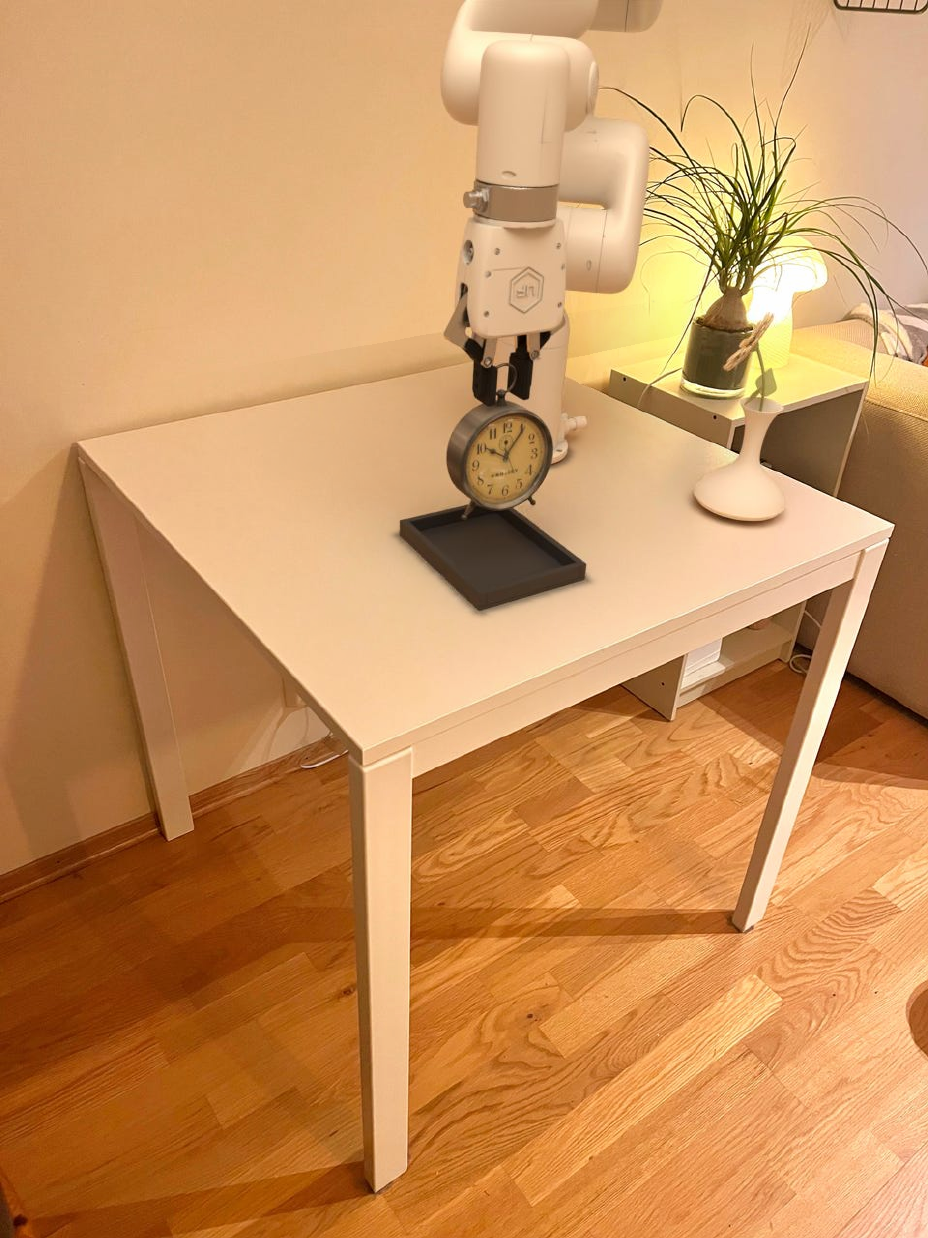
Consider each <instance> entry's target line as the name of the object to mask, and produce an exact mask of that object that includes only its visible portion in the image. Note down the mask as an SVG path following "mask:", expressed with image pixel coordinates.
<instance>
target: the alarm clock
mask: <svg viewBox="0 0 928 1238" xmlns="http://www.w3.org/2000/svg"><path fill="white" fill-rule="evenodd" d="M502 366H508V367H510V368H511V369H512V370H513V372H514V380H513V383H512V385H511V386H510V388H509V389H507V390H506V391H505V390H503V389H500V390H498V391H497V392H496V395H497V397H498V398H497V400H496V402H495V404H494V406H490V407H488V406H486V405H485V404H483V403H480V404H478V405H477V406H475V407H473V408H472V409H470V410H469V411H468V412H467V413H466V414H464V416H462V418H461V419H460V420H459V421H458V422H457V424H456V426H455V427H454V429H453V431H452V433H451V435H450V437H449V440H448V443H447V447H446V454H445V455H446V456H445V457H446V458H445V460H446V461H445V462H446V470H447V473H448V475H449V478H450V480H451V482H452V484H453V485H454V486H455V488H456V489H457V490H458V491H460V493H462V494H463V495H465V497H467V498H468V499H469V500H470V501H469V503H468V506H467V508H466V511H465V513H464V514H463V515H462V517H461V518H462V519H463V520H466V519H467V516H468V514H470V513H471V512H472V510H473V509H474V507H475V505H478V506H480V507H482V508H485V509H488V510H494V511H499V510H506V509H510V508H515V507H518V506H519V505H521V504H523V503H525V502H526V501H528V502H529V503H530V505H531V506H535V505H536V500H535V499H533V497H532V496H534V494H535V493H536V492H537V491H538V490H539V489H540V487H541V486H542V484H543V483H544V482H545V479H546V478H547V476H548V473H549V472H550V468H551V466H552V464H551V462H552V456H553V442H552V437H551V434H550V431H549V429H548V427H547V425H546V424H545V422H544V421H543V420H542V419H541V418H540V417H539V416H537V415H536V414H534V413H533V412H530V411H528V410H527V409H525V408H523V407H522V406H520V405H518V404H516V403H514V402H511V401H507V400H505V395H506V393H507V392H509V391H511V389H512V388H513V387H514V385H515V383H516V379H517V372H516V369H515V367H514V366H513V365H512V364H510V363H502V364H499V365H497V366H496V367H497V369H498V368H500V367H502Z"/></svg>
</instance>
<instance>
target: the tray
mask: <svg viewBox="0 0 928 1238" xmlns="http://www.w3.org/2000/svg"><path fill="white" fill-rule="evenodd" d="M468 504H469V503H468ZM468 504H462V505H458V506H455V507H451V508H446V509H442V510H438V511H433V512H429V513H425V514H420V515H416V516H412V517H408V518H404V519H400V520H399V536H400V537H401V538H403V540H404V541H405V542H406V543H407V544H408V545H410V547H412V548H413V550H414V551H416V552H417V553H418V554H419V555H420V556H421V557H422V558H423V559H424V560H425V561H426V562H427V563H429V565H431V567H433V569H434V570H436V571H437V573H439V574H440V575H441V576H442V577H443V578H444V579H445V580H446V581H447V582H448V583H449V584H450V585H451V586H453V588H454V589H455V590H457V591H458V592H459V593H460V594H461V595H462V596H463V597H464V598H465V599H466V600H467V601H468V602H470V603H471V605H472V606H473V607H474V608H476V609H477V610H478V611H482V610H486V609H489V608H493V607H497V606H500V605H503V604H506V603H510V602H513V601H516V600H521V599H523V598H526V597H530V596H534V595H536V594H540V593H543V592H547V591H550V590H554V589H557V588H560V587H564V586H567V585H570V584H574V583H576V582H577V583H578V582H581V581H584V580H585V579H586V577H585V576H586V570H587V563H586V562H585V561H583V560H582V559H581V558H580V557H579V556H577V555H576V554H574V553H573V552H572V551H570V549H568V548H566V547H565V546H564V545H563V544H561V543H560V542H559V541H557V540H556V539H555V538H553V536H552V535H549V534H548V533H547V532H546V531H544V530H543V529H542V528H540V527H539V526H538V525H536V524H535V523H534V522H532V521H531V520H530V519H529V518H527V517H526V516H524V515H523V514H522V513H521V512H519V511H518V510H517V509H515V507H513V508H510V509H506V510H499V511H494V510H488V509H485V508H482V507H480V506H478V505H475V507H474V509H473V510H472V512H471V513H470V514H468V516H467V519H466V520H463V519H462V518H461V517H462V515H463V514H464V513H465V511H466V508H467V506H468Z"/></svg>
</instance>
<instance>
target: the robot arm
mask: <svg viewBox="0 0 928 1238" xmlns="http://www.w3.org/2000/svg"><path fill="white" fill-rule="evenodd" d="M663 3H664V0H464V1H463V3H462V4H461V6H460V8H459V9H458V12H457V13H456V16H455V19H454V21H453V24H452V28H451V30H450V33H449V35H448V38H447V42H446V45H445V48H444V53H443V56H442V62H441V67H440V76H439V77H440V79H439V83H440V85H439V86H440V95H441V99H442V103H443V106H444V108H445V110H446V112H447V114H448V115H449V116H450V117H451V118H452V119H453V120H454V121H456V122H457V123H460V124H462V125H464V126H465V125H466V126H473V127H477V135H476V136H477V137H476V154H475V155H476V157H475V175H474V176H475V179H474V181H473V189H472V190H470V191H464V193H463V195H462V203H463V206H464V207H465V209H472V213H473V216H470V217H467V220H466V224H465V228H464V231H463V236H462V240H461V244H460V245H461V246H460V251H459V255H458V256H459V258H458V264H457V272H456V282H455V291H454V312H453V313H452V316H451V317H450V320H449V321H448V323H447V326H446V327H445V329H444V331H443V339H445V340H446V341H448V342H450V343H452V344H454V345H455V346H457V347H459V348H461V349H462V351H464V352H465V354H466V355H467V356H468V358H469V359H470V360H472V361H473V364H472V381H471V388H472V389H471V390H472V395H473V398H474V399H475V400H477V401H479V402H480V403H481V404H485V405H486V406H488V407H490V406H494V404H495V402H496V400H497V398H498V397H497V395H496V392H497V391H498V390H500V389H503V390H505V391H506V390H507V389H509V388H510V386H511V385H512V383H513V380H514V372H513V370H512V369H511V368H510V367H508V366H502V367H500V368H498V369H497V367H496V366H497V365H499V364H502V363H510V364H512V365H513V366H514V367H515V369H516V372H517V379H516V383H515V385H514V387H513V388H512V389H511V391H509V392H507V393H506V395H505V400H507V401H511V402H514V403H516V404H518V405H520V406H522V407H523V408H525V409H527V410H528V411H530V412H533V413H534V414H536V415H537V416H539V417H540V418H541V419H542V420H543V421H544V422H545V424H546V425H547V427H548V429H549V431H550V434H551V437H552V442H553V456H552V462H551V465H553V464H556V463H558V462H560V461H561V460H563V459H564V458H566V456H567V455H568V450H569V443H568V440H567V439H566V438H565V436H566V435H568V434H569V433H570V432H573V431H574V432H575V431H580V430H584V429H586V428H587V425H588V420H587V418H586V416H585V415H584V414H583V415H577V416H571V417H569V414H568V413H567V412H562V407H563V406H562V405H563V396H564V388H565V379H566V369H567V362H568V352H569V344H570V336H571V324H570V319H569V316H568V313H567V310H566V309H565V305H566V304H565V301H566V291H567V292H578V293H579V292H580V293H591V294H602V295H607V294H608V295H615V294H619V293H622V292H624V291H625V290H626V289H627V288H628V287H629V286H630V284H631V283H632V281H633V278H634V275H635V272H636V268H637V264H638V262H637V261H638V256H639V250H640V242H641V234H642V225H643V219H644V211H645V204H646V196H647V189H648V188H647V187H648V181H649V180H648V179H649V170H650V162H651V161H650V159H651V157H650V156H651V151H650V150H651V149H650V141H649V136H648V134H647V131H646V130H645V128H643V126H642V125H640V124H639V123H637V122H634V121H631V120H628V119H619V118H609V117H607V118H606V117H596V116H595V109H596V102H597V98H598V91H599V85H600V84H599V83H600V72H599V65H598V63H597V62H596V60H595V57H594V54H593V52H592V51H591V49H590V47H588V46H587V44H586V43H584V42H583V41H581V40H579V39H581V38H582V37H583V35H585V33H586V32H587V31H596V32H610V33H611V32H612V33H613V32H614V33H625V34H626V33H629V34H630V33H633V34H635V33H642V32H645V31H647V30H650V29H651V27H653V26H654V24H655V23H656V22H657V20H658V18H659V15H660V13H661V11H662V7H663ZM558 203H569V204H570V203H572V204H584V205H594V206H601V207H602V208H603V209H600V208H590V207H578V206H571V205H561V204H558ZM467 328H470V330H471V335H470V336H469V335H467V334H466V329H467Z"/></svg>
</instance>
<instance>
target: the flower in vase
mask: <svg viewBox="0 0 928 1238" xmlns="http://www.w3.org/2000/svg"><path fill="white" fill-rule="evenodd" d="M774 318H775V314H774V312H772V313H771V314H770V311H768V312H767V313H766V315H765V316H764V317H763V319H762V320H759V321H758V322H757V323H756V325H755V327H754V328H753V331H752V333H751V334H750V336H749V337H748V338H744V339H742V341H741V342H740V343H739V345H738V348H740V349H738V350H737V351H735V352H734V353H733V354H732V355H730V356H729V357H728V358H727V359H726V361H725V362H726V363H725V364H724V365H723V367H722V369H724V371H726V372H729V371H732V369H734V368H735V367H736V366H737V365H738V364H739V363H740V362H741V361H742V360H743V359H744V358H745V357H746V356H747V355H748V354H749V353H755V352H756V355H757V359H758V362H759V366H760V371H761V374H760V375H758V377H757V378H756V379H755V382H754V384H755V388H756V389H755V390H754V391H753V392H751V395H750V396H749V397H744V398H742V399H741V400H740V401H739V403H740V407H741V408H742V410H743V415H744V435H743V440H742V445H741V448H740V451H739V454H738V456H737V457H736V458H735V460H733V461H732V462H730V463H728V464H727V465H724V466H721V467H719V468H717V469H714V470H712V471H710V472H709V473H706V474H705V475H704V476H702V477H701V478H699V479H698V481H697V482H696V484H695V485H694V487H693V494H694V496H695V498H696V499H695V500H696V501H697V502H698V503H699V505H701V506H702V507H703V508H705V509H706V510H707V511H709V512H712V513H714V514H715V515H719V516H721V517H724V518H728V519H731V520H736V521H744V522H745V521H747V522H760V521H767V520H771V519H774V518H775V517H777V516H779V514H782V512H784V510H785V509H786V507H787V500H786V494H785V493H784V491H783V490H782V489H781V487H780V485H779V484H778V483H777V482H776V481H775V480H774V479H773V477H771V475H769V474H768V472H767V471H766V470H765V469H764V468H763V467H762V465H761V460H760V456H761V450H762V445H763V443H764V439H765V436H766V434H767V431H768V429H769V427H770V425H771V424H772V422H773V420H774V419H775V418H776V417H777V416H778V415H780V413H782V412H783V410H784V406H783V404H781V402H779V401H776V400H773V399H771V398H767V397H768V396H771V395H773V394H774V393H775V392H776V391H777V389H778V385H777V382H776V379H775V375H774V371H773V368H772V367H770V368H768V369H766V370H765V366H764V362H763V361H764V360H763V358H762V354H761V351H760V343H759V341H760V339H761V338H762V337H763V336H764V334H765V333H766V332H767V330H768V328H769V327H770V326H771V324H772V322H773V321H774ZM759 395H760V396H759Z"/></svg>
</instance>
